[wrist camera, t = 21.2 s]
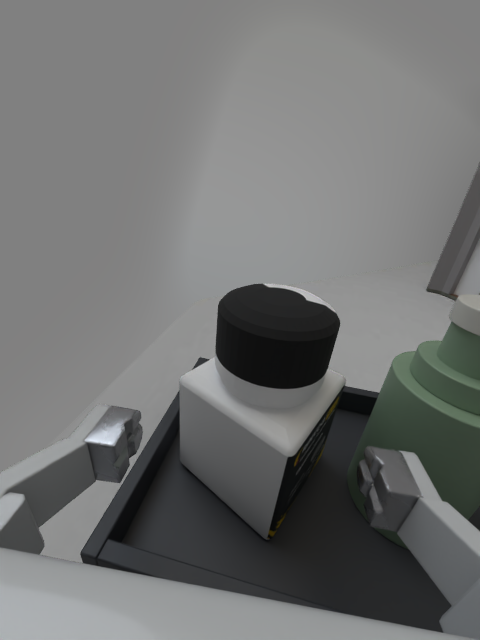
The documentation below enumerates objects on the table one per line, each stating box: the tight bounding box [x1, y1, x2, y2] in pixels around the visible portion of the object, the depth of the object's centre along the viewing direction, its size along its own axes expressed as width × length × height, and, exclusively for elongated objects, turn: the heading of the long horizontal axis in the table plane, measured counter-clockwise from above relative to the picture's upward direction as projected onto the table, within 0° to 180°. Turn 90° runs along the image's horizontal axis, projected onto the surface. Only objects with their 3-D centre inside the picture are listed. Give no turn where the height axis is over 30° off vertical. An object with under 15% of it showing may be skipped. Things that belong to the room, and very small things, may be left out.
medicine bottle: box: [179, 284, 346, 540], centre depth 16 cm, size 7×7×12 cm
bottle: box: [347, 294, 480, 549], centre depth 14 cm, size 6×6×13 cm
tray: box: [80, 358, 480, 633], centre depth 17 cm, size 32×16×2 cm, turn 79°
